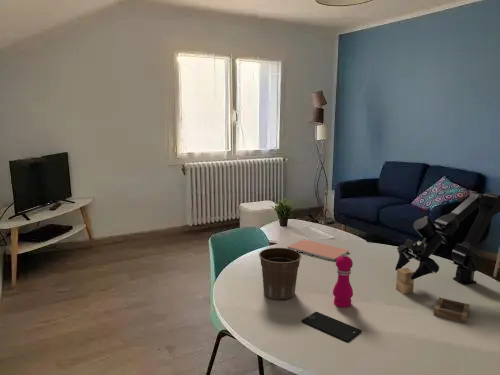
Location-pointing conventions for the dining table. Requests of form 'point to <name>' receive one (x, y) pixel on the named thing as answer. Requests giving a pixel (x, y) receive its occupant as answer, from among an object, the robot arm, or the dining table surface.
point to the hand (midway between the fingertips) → (403, 274)
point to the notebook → (318, 249)
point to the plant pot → (279, 272)
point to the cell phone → (331, 326)
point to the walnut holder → (451, 314)
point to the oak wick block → (404, 280)
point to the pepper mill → (343, 281)
